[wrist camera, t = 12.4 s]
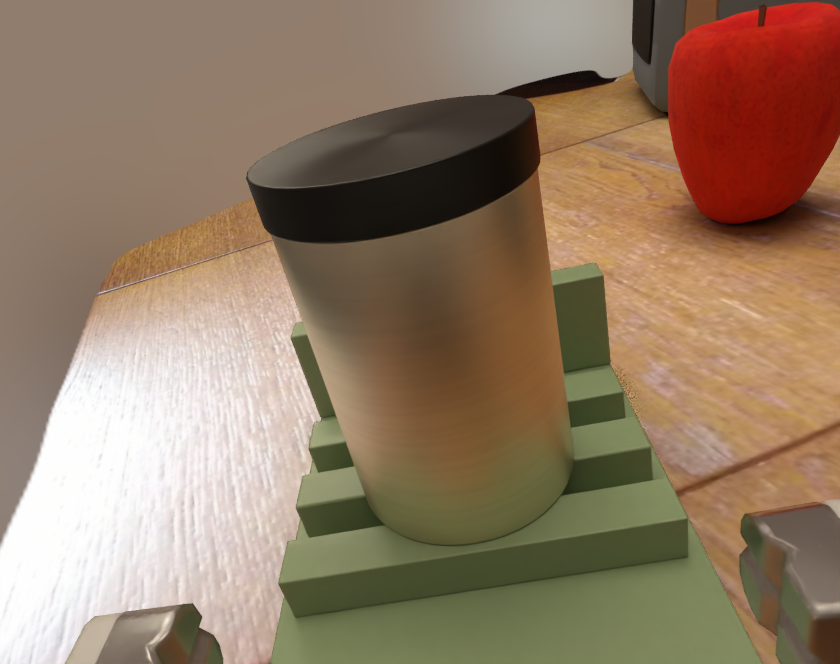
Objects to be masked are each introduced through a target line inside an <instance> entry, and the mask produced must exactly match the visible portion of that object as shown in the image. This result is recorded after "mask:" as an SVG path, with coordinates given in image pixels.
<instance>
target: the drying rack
mask: <svg viewBox="0 0 840 664" xmlns="http://www.w3.org/2000/svg"><path fill="white" fill-rule="evenodd" d="M551 277H552V285H553V293H554V301H555V309H556V316H557V324H558V332H559V340H560V347H561V355H562V363H563V371H564V379H565V386H566V394H567V402H568V410H569V418H570V425H571V433H572V441H573V449H574V464H573V470H572V473H571V476H570V479H569V482H568V484H567V485H566V487H565V489H564V491H563V493H562V494H561V495H560V496H559V498H558V499H557V500H556V502H555V503H554V504H553V505H552V506H551V507H550V508H549V509H548V510H547V511H546V512H545V513H543V514H542V515H541V516H539V517H538V518H537V519H535V520H534V521H533V522H531V523H529V524H527V525H526V526H524V527H522V528H521V529H519V530H516V531H514V532H512V533H510V534H507V535H505V536H502V537H499V538H496V539H493V540H489V541H484V542H480V543H475V544H465V545H438V544H429V543H425V542H420V541H416V540H413V539H410V538H408V537H405V536H403V535H401V534H399V533H397V532H395V531H393V530H392V529H390V528H389V527H388V526H386V525H385V524H384V523H383V522H381V521H380V519H379V518H378V517H377V516H376V515H375V514H374V513H373V511H372V509H371V508H370V506H369V504H368V502H367V499H366V497H365V494H364V491H363V488H362V485H361V483H360V480H359V477H358V474H357V472H356V469H355V466H354V463H353V460H352V458H351V455H350V452H349V449H348V447H347V444H346V441H345V438H344V436H343V433H342V430H341V427H340V424H339V422H338V419H337V416H336V413H335V411H334V408H333V405H332V402H331V399H330V397H329V394H328V391H327V388H326V386H325V383H324V380H323V377H322V374H321V372H320V369H319V366H318V363H317V361H316V358H315V355H314V352H313V349H312V347H311V344H310V341H309V338H308V336H307V333H306V330H305V327H304V324H303V322H299V323H296V324H295V326H294V329H293V332H292V335H291V340H292V343H293V346H294V348H295V351H296V354H297V356H298V359H299V362H300V364H301V367H302V370H303V372H304V375H305V378H306V380H307V383H308V386H309V388H310V391H311V394H312V396H313V399H314V401H315V404H316V407H317V409H318V412H319V415H320V417H321V421H320V422H316V423H314V426H313V430H312V435H311V439H310V444H309V451H310V454H311V456H312V459H313V460H312V465H311V469H310V474H309V475H304V476H303V477H302V481H301V486H300V490H299V495H298V499H297V504H296V510H297V512H298V514H299V516H300V522H299V527H298V532H297V537H296V540H293V541H288V542H287V546H286V551H285V555H284V560H283V564H282V569H281V573H280V578H279V582H278V584H279V586H280V588H281V590H282V592H283V594H284V599H283V604H282V609H281V614H280V618H279V623H278V628H277V633H276V638H275V642H274V647H273V652H272V657H271V662H270V664H763V663H762V661H761V659H760V657H759V655H758V653H757V651H756V649H755V647H754V645H753V643H752V641H751V639H750V637H749V635H748V633H747V631H746V629H745V628H744V626H743V624H742V622H741V620H740V618H739V616H738V614H737V612H736V610H735V608H734V606H733V604H732V602H731V600H730V598H729V596H728V594H727V592H726V590H725V588H724V586H723V584H722V582H721V580H720V578H719V576H718V574H717V573H716V571H715V569H714V567H713V565H712V563H711V561H710V559H709V557H708V555H707V553H706V551H705V549H704V547H703V545H702V543H701V541H700V539H699V537H698V535H697V533H696V531H695V529H694V527H693V525H692V523H691V521H690V520H689V518H688V516H687V514H686V512H685V510H684V508H683V506H682V504H681V502H680V500H679V498H678V496H677V494H676V492H675V490H674V488H673V486H672V484H671V482H670V480H669V478H668V476H667V474H666V472H665V470H664V468H663V466H662V465H661V463H660V461H659V459H658V457H657V455H656V453H655V451H654V449H653V447H652V445H651V443H650V441H649V439H648V437H647V435H646V433H645V431H644V429H643V427H642V425H641V423H640V421H639V419H638V417H637V415H636V413H635V411H634V410H633V408H632V406H631V404H630V402H629V400H628V398H627V396H626V394H625V392H624V390H623V388H622V386H621V384H620V382H619V380H618V378H617V376H616V374H615V372H614V370H613V368H612V366H611V364H610V362H611V361H610V349H609V337H608V325H607V313H606V300H605V288H604V276H603V274H602V272H601V271H600V269H599V268H598V266H597V265H596V263H589V264H584V265H579V266H574V267H569V268H565V269H560V270H555V271H551Z"/></svg>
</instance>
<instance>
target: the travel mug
mask: <svg viewBox="0 0 840 664" xmlns="http://www.w3.org/2000/svg"><path fill="white" fill-rule="evenodd" d="M539 164H540V149H539V141H538V133H537V125H536V117H535V109H534V107H533V105H532V103H531V102H529V101H528V100H526V99H523V98H520V97H514V96H506V95H477V96H464V97H456V98H448V99H441V100H435V101H429V102H423V103H418V104H413V105H408V106H403V107H399V108H394V109H390V110H386V111H382V112H378V113H374V114H370V115H367V116H363V117H359V118H356V119H353V120H349V121H346V122H343V123H340V124H337V125H334V126H331V127H328V128H325V129H322V130H319V131H317V132H314V133H312V134H309V135H306V136H304V137H302V138H299V139H297V140H294V141H292V142H290V143H288V144H286V145H284V146H282V147H280V148H278V149H276V150H274V151H272V152H271V153H269V154H267V155H266V156H264V157H263V158H261V159H260V160H259V161H257V162H256V163H255V164H254V165H253V166H252V167H251V168H250V169H249V171H248V172H247V177H246V179H247V182H248V185H249V188H250V190H251V193H252V196H253V199H254V201H255V204H256V207H257V210H258V212H259V215H260V218H261V221H262V223H263V226H264V228H265V229H266V230H267V231H268V232H269V233H270V234H271V236H272V238H273V241H274V244H275V247H276V249H277V252H278V255H279V258H280V261H281V263H282V266H283V269H284V272H285V274H286V277H287V280H288V283H289V286H290V288H291V291H292V294H293V297H294V299H295V302H296V305H297V308H298V311H299V313H300V316H301V319H302V322H303V324H304V327H305V330H306V333H307V336H308V338H309V341H310V344H311V347H312V349H313V352H314V355H315V358H316V361H317V363H318V366H319V369H320V372H321V374H322V377H323V380H324V383H325V386H326V388H327V391H328V394H329V397H330V399H331V402H332V405H333V408H334V411H335V413H336V416H337V419H338V422H339V424H340V427H341V430H342V433H343V436H344V438H345V441H346V444H347V447H348V449H349V452H350V455H351V458H352V460H353V463H354V466H355V469H356V472H357V474H358V477H359V480H360V483H361V485H362V488H363V491H364V494H365V497H366V499H367V502H368V504H369V506H370V508H371V509H372V511H373V513H374V514H375V515H376V516H377V517H378V518H379V519H380V521H381V522H383V523H384V524H385V525H386V526H388V527H389V528H390V529H392V530H393V531H395V532H397V533H399V534H401V535H403V536H405V537H408V538H410V539H413V540H416V541H420V542H425V543H429V544H438V545H465V544H475V543H480V542H484V541H489V540H493V539H496V538H499V537H502V536H505V535H507V534H510V533H512V532H514V531H516V530H519V529H521V528H522V527H524V526H526V525H527V524H529V523H531V522H533V521H534V520H535V519H537V518H538V517H539V516H541V515H542V514H543V513H545V512H546V511H547V510H548V509H549V508H550V507H551V506H552V505H553V504H554V503H555V502H556V500H557V499H558V498H559V496H560V495H561V494H562V493H563V491H564V489H565V487H566V485H567V484H568V482H569V479H570V476H571V473H572V470H573V464H574V449H573V441H572V433H571V425H570V418H569V410H568V402H567V394H566V386H565V379H564V371H563V363H562V355H561V347H560V340H559V332H558V324H557V316H556V309H555V301H554V293H553V285H552V277H551V270H550V262H549V254H548V246H547V238H546V231H545V223H544V215H543V207H542V199H541V192H540V184H539V176H538V166H539Z"/></svg>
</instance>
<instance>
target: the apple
mask: <svg viewBox="0 0 840 664" xmlns="http://www.w3.org/2000/svg"><path fill="white" fill-rule="evenodd" d="M668 114H669V126H670V131H671V136H672V141H673V147H674V151H675V154H676V157H677V160H678V163H679V166H680V170H681V173H682V176H683V179H684V181H685V183H686V186H687V188H688V190H689V192H690V194H691V196H692V199H693V201H694V202H695V204H696V205H697V207H698V209H699V210H700V212H701V213H703V214H704V215H706V216H708V217H709V218H711V219H713V220H715V221H718V222H721V223H736V224H738V223H744V222H749V221H754V220H759V219H764V218H767V217H770V216H772V215H775V214H777V213H780V212H782V211H784V210H785V209H786V208H788V207H789V206H791V205H792V204H794V203H795V202H797V201H798V200H799V199H800V198H801V197H802V195H803V194H804V193H805V192H806V191H807V189H808V188H809V187H810V186H811V184H812V183H813V181H814V179H815V178H816V176H817V174H818V173H819V171H820V169H821V168H822V166H823V165H824V163H825V161H826V160H827V158H828V156H829V155H830V153H831V151H832V150H833V148H834V146H835V144H836V142H837V140H838V138H839V136H840V10H839V9H838V8H836V7H835V6H834V5H832V4H826V3H819V2H809V3H792V4H786V5H779V6H773V7H766V4H764V5H761V6H759V9H757V10H752V11H747V12H743V13H738V14H736V15H733V16H730V17H728V18H725V19H722V20H719V21H715V22H712V23H708V24H705V25H701V26H699V27H696V28H694V29H692V30H690V31H689V32H688V33H687V34H686V35H684V36H683V37H682V38H681V39H680V40H679V41H677V42H676V45H675V48H674V51H673V55H672V58H671V61H670V65H669V68H668Z"/></svg>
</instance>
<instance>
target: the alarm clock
mask: <svg viewBox="0 0 840 664" xmlns="http://www.w3.org/2000/svg"><path fill="white" fill-rule="evenodd" d="M809 2H819V3H826V4H832V5H834V6H835V7H836V8H838V9H839V10H840V0H633V25H632V26H633V27H632V28H633V29H632V44H633V71H634V76H635V80H636V81H637V83H638V84H639V86H640V87H641V89H642V90H643V91H644V93H645V94H646V96H647V97H648V99H649V100H650V102H651V103H652V104H653V105H654V106H655V107H656V108H657V109H659V110H660V111H661V112H668V68H669V65H670V61H671V58H672V55H673V51H674V48H675V45H676V42H677V41H679V40H680V39H681V38H682V37H683V36H684V35H686V34H687V33H688V32H689V31H690V30H692V29H694V28H696V27H699V26H701V25H705V24H708V23H712V22H715V21H719V20H722V19H725V18H728V17H730V16H733V15H736V14H738V13H743V12H747V11H752V10H757V9H759V6H761V5H764V4H766V7H773V6H779V5H786V4H792V3H809Z"/></svg>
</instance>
